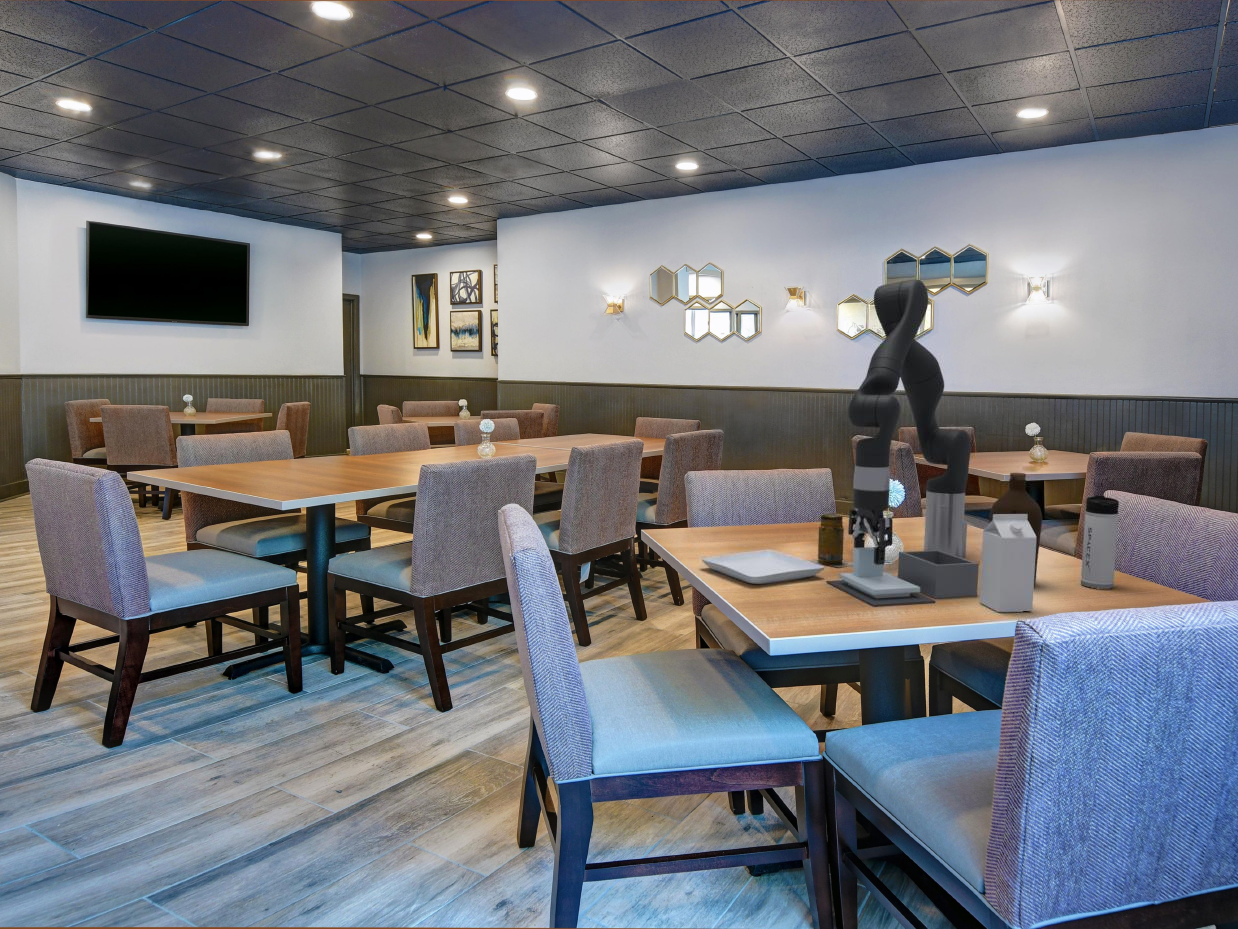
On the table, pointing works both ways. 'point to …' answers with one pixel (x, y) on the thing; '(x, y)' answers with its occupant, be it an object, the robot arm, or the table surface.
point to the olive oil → (1020, 507)
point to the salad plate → (763, 566)
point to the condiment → (831, 541)
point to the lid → (875, 577)
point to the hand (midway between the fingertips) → (868, 560)
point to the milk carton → (1008, 564)
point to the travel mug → (1099, 542)
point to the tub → (939, 573)
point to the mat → (875, 602)
